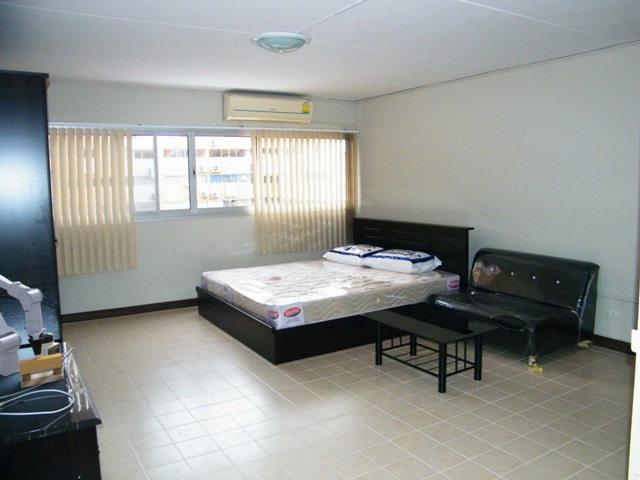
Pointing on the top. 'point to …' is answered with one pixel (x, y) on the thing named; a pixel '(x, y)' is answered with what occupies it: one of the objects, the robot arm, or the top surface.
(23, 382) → the display stand
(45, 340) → the medicine bottle
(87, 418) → the top surface
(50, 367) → the amber bar
